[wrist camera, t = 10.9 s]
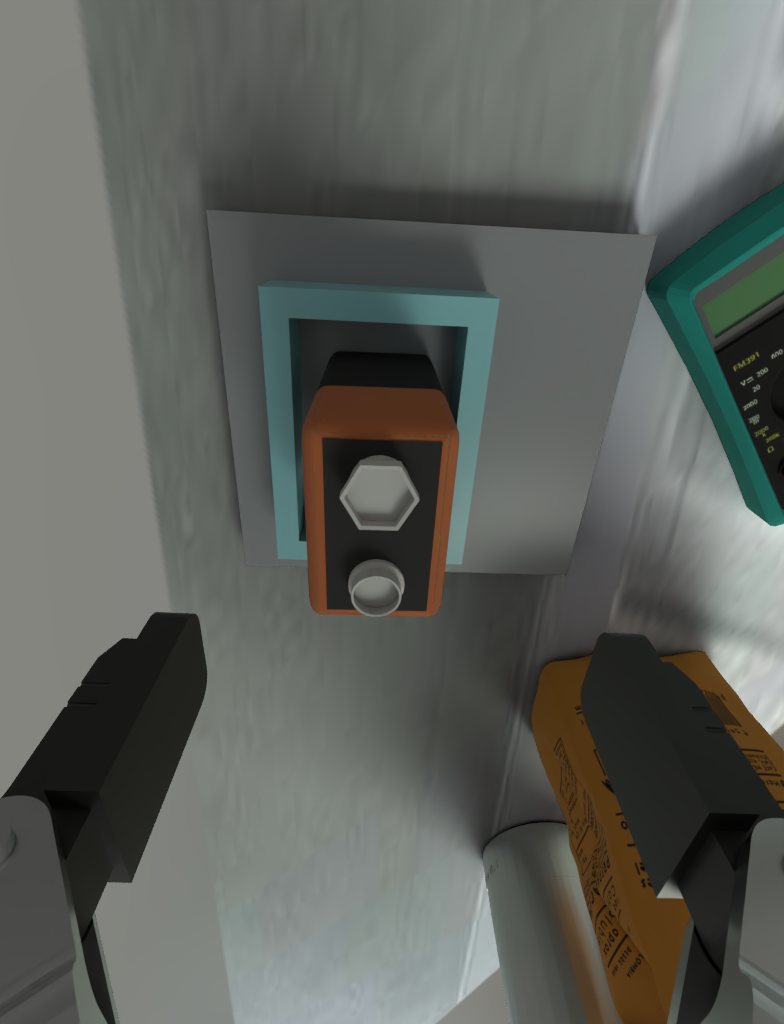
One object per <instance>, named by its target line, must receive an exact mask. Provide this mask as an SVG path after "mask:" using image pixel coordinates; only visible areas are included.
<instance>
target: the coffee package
mask: <svg viewBox="0 0 784 1024" xmlns="http://www.w3.org/2000/svg"><path fill="white" fill-rule="evenodd" d="M591 657H592V655H588V656H585V657H581V658H577V659H572V660H563V661H554V662H550V663H548V664H547V665H546V666H545V667H544V668H543V669H542V671H541V673H540V677H539V684H538V690H537V693H536V697H535V700H534V704H533V708H532V716H531V722H532V726H533V733H534V738H535V742H536V746H537V749H538V752H539V755H540V758H541V761H542V763H543V766H544V768H545V771H546V774H547V776H548V779H549V781H550V784H551V786H552V788H553V790H554V793H555V796H556V798H557V801H558V803H559V805H560V808H561V810H562V812H563V815H564V817H565V820H566V823H567V826H568V837H569V846H570V850H571V853H572V855H573V858H574V860H575V863H576V865H577V869H578V873H579V878H580V883H581V887H582V891H583V895H584V898H585V902H586V906H587V909H588V912H589V915H590V918H591V922H592V925H593V928H594V932H595V935H596V939H597V943H598V946H599V951H600V955H601V959H602V963H603V967H604V970H605V974H606V978H607V981H608V985H609V989H610V992H611V996H612V1000H613V1003H614V1006H615V1008H616V1011H617V1013H618V1015H619V1018H620V1019H621V1021H622V1022H623V1024H667V1021H668V1016H669V1011H670V1006H671V1000H672V995H673V990H674V985H675V979H676V974H677V969H678V964H679V958H680V953H681V948H682V943H683V938H684V932H685V927H686V924H687V921H688V920H689V918H690V917H691V915H690V912H689V910H688V908H687V906H686V903H685V901H684V899H683V898H657V897H656V895H655V893H654V890H653V888H652V885H651V883H650V880H649V878H648V875H647V873H646V870H645V868H644V865H643V863H642V860H641V858H640V855H639V853H638V850H637V848H636V846H635V843H634V841H633V838H632V836H631V833H630V831H629V828H628V826H627V823H626V821H625V818H624V816H623V813H622V811H621V808H620V806H619V803H618V801H617V799H616V796H615V794H614V791H613V789H612V786H611V784H610V781H609V779H608V776H607V774H606V771H605V769H604V766H603V764H602V761H601V759H600V757H599V754H598V752H597V749H596V747H595V744H594V742H593V739H592V737H591V734H590V732H589V729H588V727H587V724H586V722H585V719H584V717H583V713H582V708H581V687H582V683H583V681H584V678H585V675H586V672H587V669H588V666H589V663H590V660H591ZM660 659H661V660H662V662H672V663H673V664H674V665H675V666H676V667H677V668H679V669H680V670H681V671H682V672H683V673H684V674H686V675H687V676H688V677H689V678H690V679H691V680H693V681H694V682H695V683H696V684H697V686H698V687H699V689H700V690H701V692H702V693H703V695H704V696H705V697H706V699H707V700H708V702H709V703H710V705H711V706H712V711H713V712H716V714H717V715H718V716H719V718H720V719H721V721H722V722H723V724H724V725H725V727H726V732H727V733H730V734H731V735H732V737H733V738H734V740H735V741H736V743H737V744H738V746H739V747H740V749H741V750H742V752H743V753H744V755H745V756H746V757H747V759H748V760H749V762H750V763H751V765H752V766H753V768H754V769H755V771H756V772H757V774H758V775H759V776H760V778H761V779H762V781H763V782H764V784H765V785H766V787H767V788H768V790H769V791H770V793H771V794H772V795H773V797H774V798H775V800H776V801H777V803H778V804H779V806H780V807H781V809H782V810H783V812H784V751H783V750H782V748H781V747H780V746H779V745H778V744H777V743H776V742H775V740H774V739H773V738H772V737H771V736H770V735H769V734H768V732H767V731H766V730H765V729H764V728H763V727H762V725H761V724H760V723H759V722H758V721H757V720H756V719H755V718H754V717H753V715H752V714H751V713H750V712H749V711H748V710H747V708H746V707H745V705H744V704H743V702H742V701H741V699H740V698H739V696H738V695H737V694H736V692H735V691H734V690H733V689H732V688H731V686H730V685H729V684H728V683H727V682H726V680H725V679H724V678H723V677H722V675H721V674H720V673H719V671H718V670H717V669H716V667H715V666H714V665H713V663H712V662H711V660H710V659H709V658H708V656H707V655H706V653H703V652H699V651H694V652H689V653H681V654H676V655H672V656H666V657H660Z"/></svg>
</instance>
